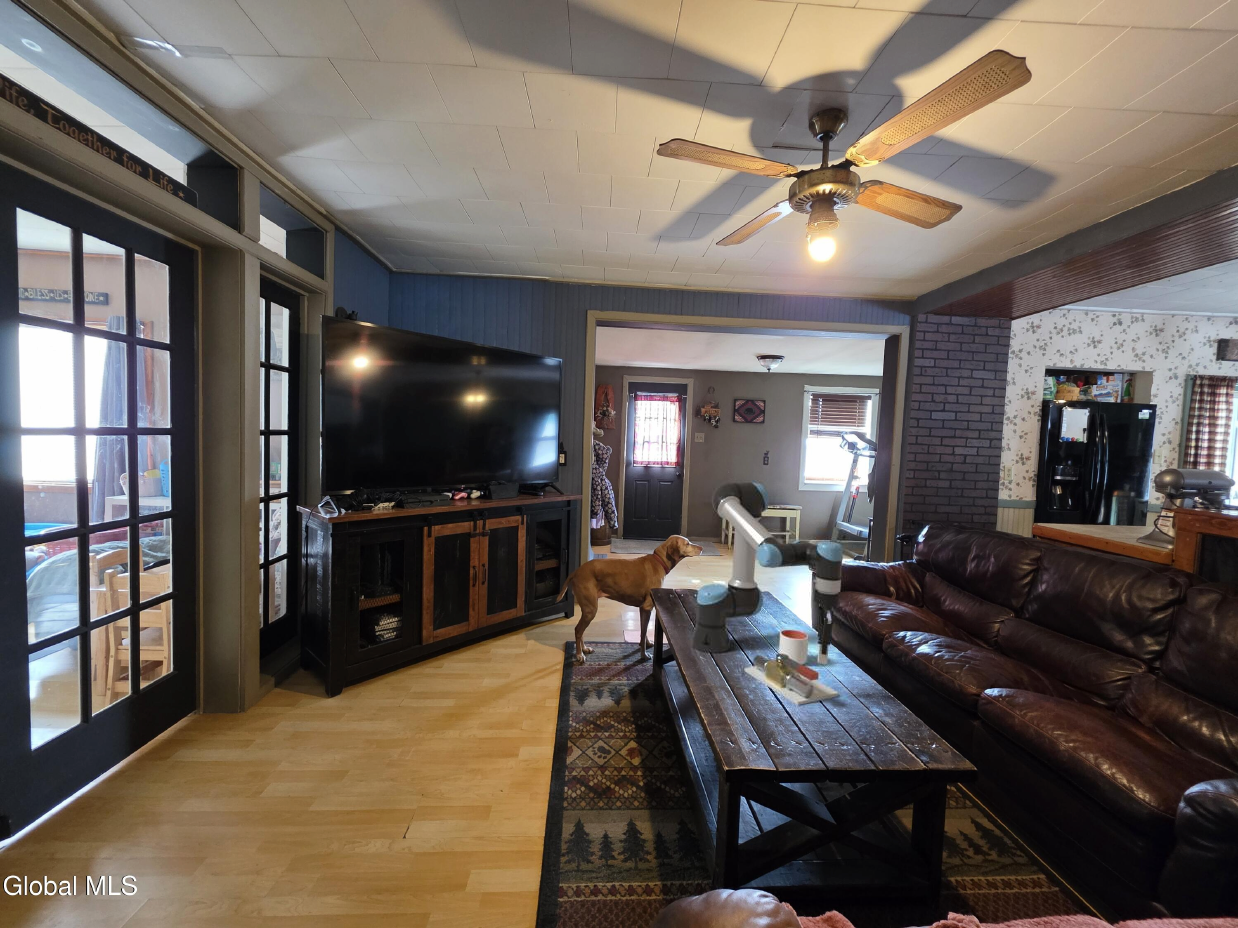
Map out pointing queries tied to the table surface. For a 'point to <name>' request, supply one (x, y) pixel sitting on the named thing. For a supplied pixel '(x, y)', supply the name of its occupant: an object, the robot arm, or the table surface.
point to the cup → (794, 645)
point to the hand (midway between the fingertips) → (822, 662)
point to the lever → (797, 667)
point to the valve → (783, 676)
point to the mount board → (818, 690)
